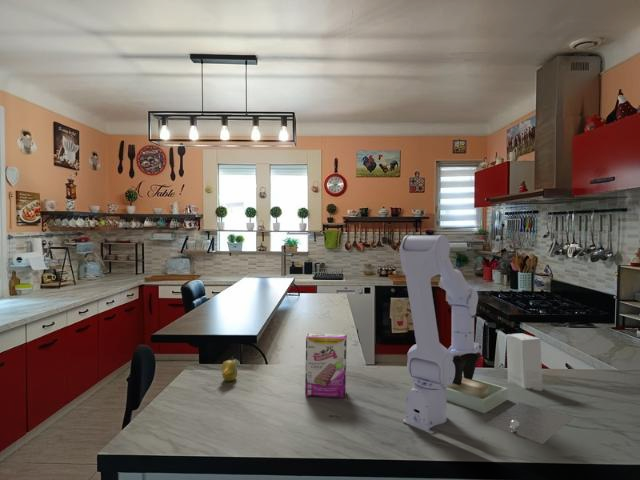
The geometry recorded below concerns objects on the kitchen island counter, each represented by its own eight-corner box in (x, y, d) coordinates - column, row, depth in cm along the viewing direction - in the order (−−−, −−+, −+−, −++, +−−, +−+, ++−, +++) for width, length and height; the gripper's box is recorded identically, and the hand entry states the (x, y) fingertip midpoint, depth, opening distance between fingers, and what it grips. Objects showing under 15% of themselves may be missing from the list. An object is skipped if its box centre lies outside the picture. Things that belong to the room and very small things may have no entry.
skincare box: (543, 391, 112) (543, 339, 112) (523, 392, 111) (523, 339, 111) (523, 381, 120) (524, 332, 120) (505, 381, 120) (505, 332, 120)
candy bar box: (304, 397, 107) (305, 336, 107) (307, 390, 112) (307, 332, 112) (346, 399, 106) (346, 338, 106) (346, 391, 111) (346, 333, 111)
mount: (542, 449, 81) (542, 431, 81) (485, 427, 90) (485, 412, 90) (572, 422, 93) (572, 407, 93) (519, 406, 102) (519, 392, 102)
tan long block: (438, 390, 110) (439, 375, 110) (447, 387, 112) (447, 372, 112) (480, 404, 101) (480, 388, 101) (488, 400, 103) (488, 384, 103)
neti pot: (216, 389, 112) (216, 366, 112) (227, 372, 127) (228, 351, 127) (232, 389, 112) (232, 366, 112) (241, 372, 127) (241, 351, 127)
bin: (484, 417, 96) (484, 400, 96) (419, 394, 110) (419, 379, 110) (507, 403, 104) (507, 388, 104) (444, 383, 118) (444, 370, 118)
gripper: (462, 338, 99) (462, 392, 99) (490, 329, 108) (489, 379, 108) (437, 332, 104) (437, 384, 104) (466, 325, 114) (465, 372, 114)
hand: (462, 381), depth 107 cm, fingers open, 5 cm apart
